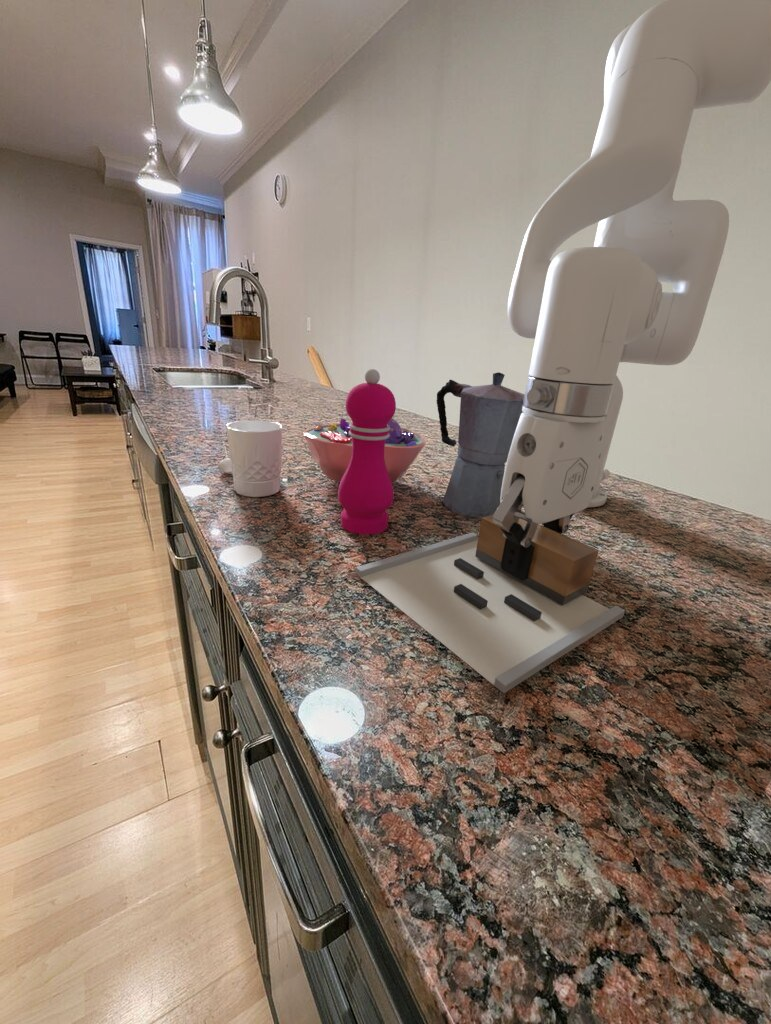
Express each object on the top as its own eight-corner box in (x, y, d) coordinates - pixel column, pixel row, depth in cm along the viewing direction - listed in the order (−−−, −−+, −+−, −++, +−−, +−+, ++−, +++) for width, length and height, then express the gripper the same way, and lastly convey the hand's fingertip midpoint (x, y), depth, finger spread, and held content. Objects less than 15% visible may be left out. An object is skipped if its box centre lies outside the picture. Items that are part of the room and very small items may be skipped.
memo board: (471, 538, 58) (472, 532, 57) (622, 618, 43) (625, 610, 43) (355, 575, 47) (355, 567, 47) (503, 696, 33) (505, 685, 33)
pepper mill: (385, 541, 55) (397, 374, 48) (329, 533, 57) (333, 368, 49) (395, 519, 62) (408, 369, 54) (345, 512, 63) (351, 364, 56)
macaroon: (247, 470, 77) (246, 456, 76) (240, 479, 73) (239, 464, 72) (222, 469, 77) (221, 455, 76) (213, 478, 73) (212, 463, 72)
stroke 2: (453, 592, 45) (454, 586, 45) (460, 589, 46) (461, 583, 45) (480, 610, 43) (481, 603, 42) (487, 606, 43) (488, 600, 43)
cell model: (319, 462, 85) (320, 402, 80) (424, 473, 83) (431, 412, 78) (289, 491, 69) (288, 418, 65) (417, 506, 67) (425, 432, 63)
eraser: (499, 547, 55) (506, 510, 53) (587, 592, 47) (599, 550, 45) (474, 556, 52) (481, 517, 50) (562, 605, 44) (574, 561, 42)
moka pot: (507, 531, 61) (536, 379, 53) (409, 503, 68) (422, 366, 60) (527, 511, 68) (555, 375, 61) (437, 487, 76) (451, 364, 68)
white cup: (237, 480, 72) (233, 418, 68) (286, 482, 73) (285, 421, 69) (225, 498, 65) (220, 430, 61) (280, 499, 66) (278, 432, 62)
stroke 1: (453, 565, 50) (454, 559, 50) (459, 563, 51) (460, 557, 51) (477, 579, 48) (478, 574, 48) (483, 577, 48) (484, 571, 48)
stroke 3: (503, 602, 44) (504, 596, 44) (510, 599, 45) (511, 593, 44) (534, 621, 41) (535, 615, 41) (540, 618, 42) (542, 612, 42)
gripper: (546, 411, 35) (506, 608, 42) (646, 402, 44) (600, 563, 51) (474, 396, 40) (449, 573, 47) (578, 391, 50) (544, 538, 57)
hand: (528, 566), depth 49 cm, fingers closed on eraser, 4 cm apart
